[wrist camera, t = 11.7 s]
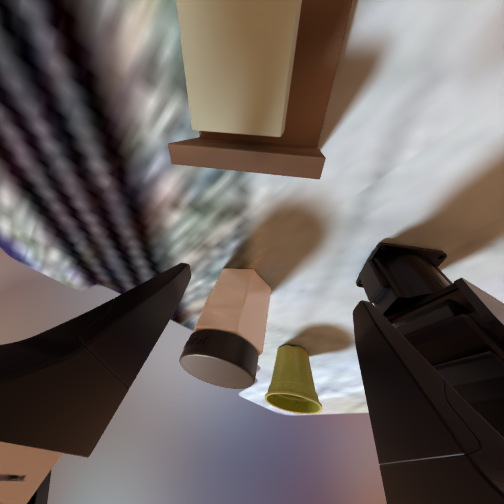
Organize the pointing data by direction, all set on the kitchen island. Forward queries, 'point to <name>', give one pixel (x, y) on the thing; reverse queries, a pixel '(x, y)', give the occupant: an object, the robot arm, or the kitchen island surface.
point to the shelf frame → (298, 111)
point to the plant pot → (293, 382)
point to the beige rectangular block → (238, 63)
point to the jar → (229, 331)
